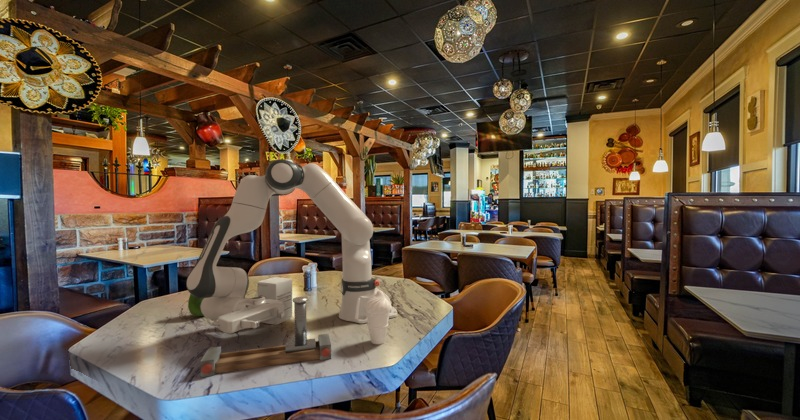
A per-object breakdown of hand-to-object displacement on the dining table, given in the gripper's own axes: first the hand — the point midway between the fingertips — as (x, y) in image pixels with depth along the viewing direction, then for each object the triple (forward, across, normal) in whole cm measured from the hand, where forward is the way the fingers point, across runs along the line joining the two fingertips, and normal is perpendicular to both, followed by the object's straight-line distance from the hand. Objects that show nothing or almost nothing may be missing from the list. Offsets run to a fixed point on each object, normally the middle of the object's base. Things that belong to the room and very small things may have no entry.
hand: (270, 319), depth 98 cm
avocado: (-47, +7, +9) cm, 49 cm away
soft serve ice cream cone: (+26, +18, +9) cm, 33 cm away
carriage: (+12, 0, +7) cm, 14 cm away
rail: (+6, -6, +8) cm, 12 cm away
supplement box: (-18, +18, +9) cm, 27 cm away
